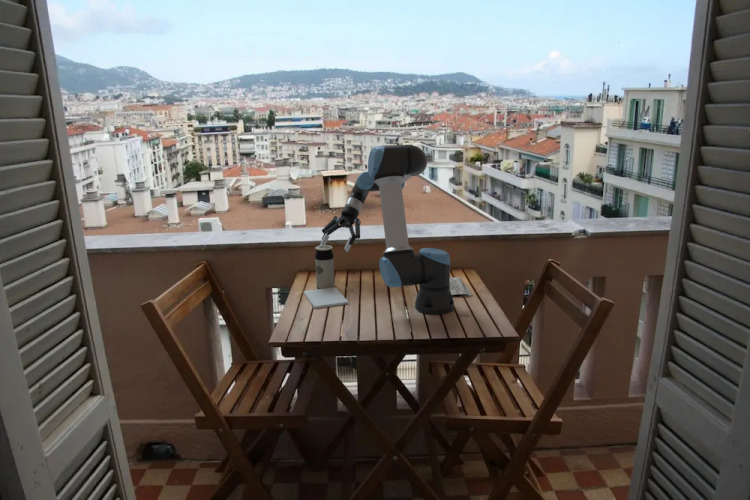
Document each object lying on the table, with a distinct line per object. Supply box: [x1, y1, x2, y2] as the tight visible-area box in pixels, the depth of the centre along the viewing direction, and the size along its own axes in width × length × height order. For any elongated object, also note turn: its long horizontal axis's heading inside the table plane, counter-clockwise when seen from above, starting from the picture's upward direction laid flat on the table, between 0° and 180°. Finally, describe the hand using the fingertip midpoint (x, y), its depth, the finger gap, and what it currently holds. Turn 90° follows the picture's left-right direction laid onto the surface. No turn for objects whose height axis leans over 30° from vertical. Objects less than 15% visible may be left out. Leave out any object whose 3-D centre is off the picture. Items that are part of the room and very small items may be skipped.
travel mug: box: [314, 244, 336, 289], centre depth 242 cm, size 8×8×18 cm
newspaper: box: [450, 276, 473, 298], centre depth 239 cm, size 23×12×2 cm, turn 0°
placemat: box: [303, 286, 349, 310], centre depth 229 cm, size 20×14×1 cm
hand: (333, 248), depth 247 cm, fingers open, 13 cm apart
